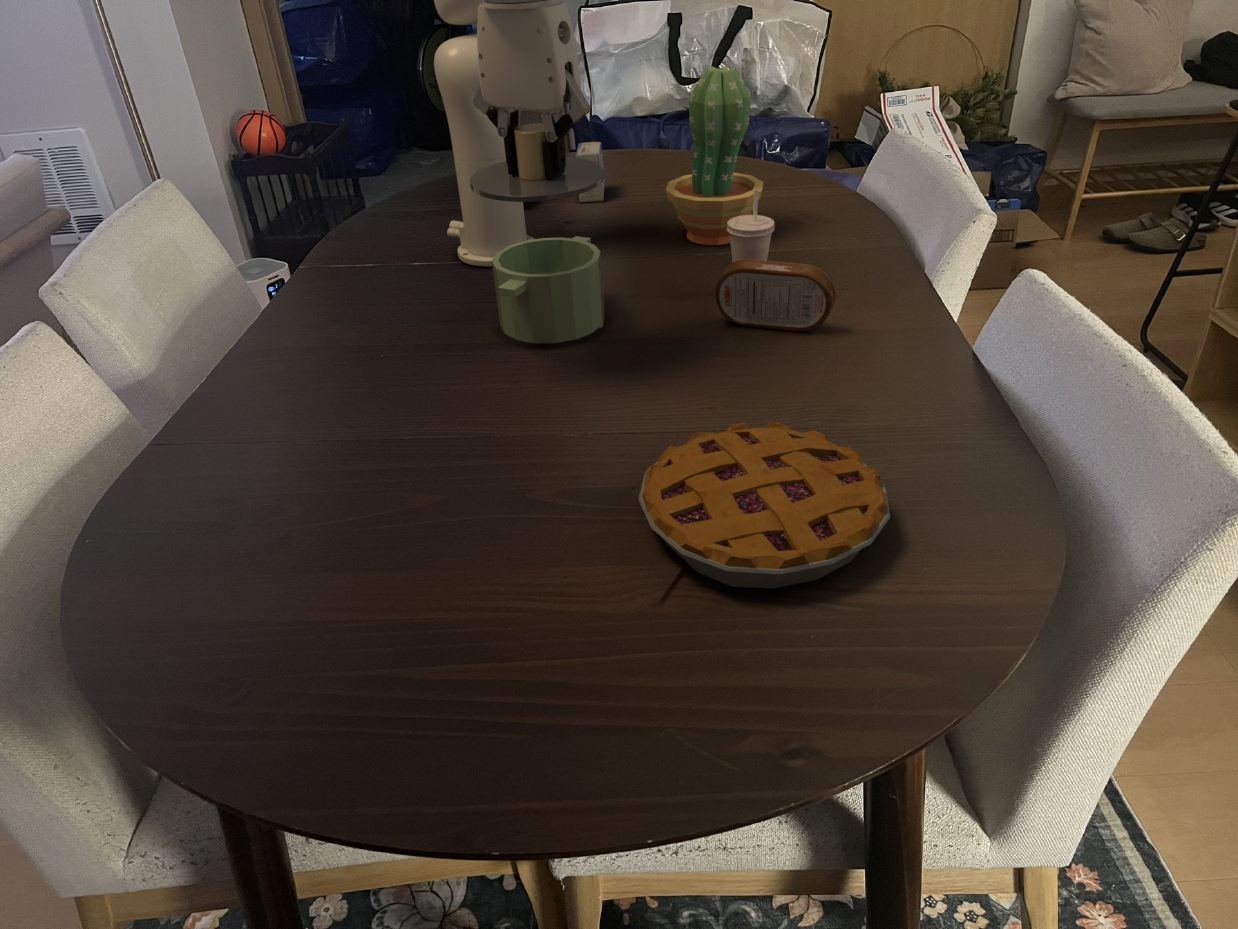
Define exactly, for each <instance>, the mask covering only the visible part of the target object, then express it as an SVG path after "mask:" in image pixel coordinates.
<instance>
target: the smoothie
mask: <svg viewBox="0 0 1238 929" xmlns="http://www.w3.org/2000/svg"><path fill="white" fill-rule="evenodd" d="M758 204H759V200H758V189H755V190H754V202H753V210H752V214H751V215H742V216H737V217H734V218H732V219H730V220H729V221H728V222H727V231H728V232H729V234H730V243H729V244H730V254H731V263H733V262H735V261H738V260H742V259H754V260H764V261H768V258H769V252H770V246H771V245H770V244H771V239H772V238H771V237H772V233H774V231H775V220H774V219H773V218H771V217H768V216H766V215H762V214H761V215H760V214H758Z"/></svg>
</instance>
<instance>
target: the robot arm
mask: <svg viewBox="0 0 1238 929" xmlns="http://www.w3.org/2000/svg"><path fill="white" fill-rule="evenodd" d="M433 2H434V6H435V10H436V11H437V15H438V16H439V17H440V19H442V21H444V22H445V23H447V24H448V25H453V26H454V25H455V26H468V25H469V26H470V25H471V26H472V25H476V33H475V34H468V35H467V34H466V35H460V36H456V37H453V38H449V39H447V40H446V41H444V42H442V43H441V44H440V45H439V46H438V47H437V49H436V51H435V53H434V57H433V58H434V59H433V67H434V73H435V78H436V82H437V86H438V90H439V93H440V96H441V100H442V103H443V107H444V111H445V115H446V119H447V124H448V128H449V129H448V130H449V134H450V141H451V147H452V148H451V149H452V154H453V162H454V168H455V175H456V182H457V188H458V189H457V190H458V195H459V202H460V209H461V216H462V221H461V220H453V219H452V220H451V221H450V222H449V225H448V226H449V227H448V228H447V231H446V234H447V237H449V238H458V239H459V242H460V244H459V246H458V247H457V251H456V252H457V257H458V259H459V261H462V263H465V264H467V265H470V266H473V267H483V268H484V267H485V268H486V267H487V268H488V267H490V268H491V267H492V268H493V266H492V260H493V258H494V256H495V254H496V253H497V252H499V251H501V250H502V249H504V248H506V247H507V246H510V245H513V244H516V243H519V242H522V241H527V240H534V239H535V238H534V237H532V236H530V235H528V234H527V228H526V217H525V209H524V208H525V207H524V202H509V201H500V200H494V199H489V198H485V197H482V196H480V195H478V194H476V193H475V192H473V191H472V189H471V187H470V178H471V176H472V175H473V174H474V173H476V172H477V171H479V170H481V169H483V168H485V167H487V166H490V165H493V164H496V163H500V162H504V161H506V162H507V164H508V173H509V175H516V174H518V173H519V172H518V163H517V153H516V144H515V135H514V129H515V128H516V127H518V126H521V125H522V124H521V123H522V111H529V112H539V114H540V117H541V118H540V119H541V121H542V124H543V126H544V130H545V134H546V138H547V141H545V142H543V144H542V148H543V159H544V170H545V177H546V178H547V179H549V180H553V179H554V178H556V177H558V176H560V175H561V174H563V173H564V172H565V167H566V157H567V156H566V144H565V143H566V142H565V137H566V136H568V135H569V133H570V131H571V129H572V128H573V127H574V126H575V125H576V124H577V122H578V121H580V120H581V119H583V117H585V116H586V115H588V114H589V113H590V112H591V105H590V103H589V101H588V100H587V99H586V97H585V95H584V93H583V91H582V81H581V71H580V63H579V55H578V49H577V43H576V36H575V34H574V33H575V32H574V27H573V23H572V18H571V15H570V11H569V8H568V4H567V1H564V0H433ZM564 105H569V106H570V109H569V110H568V111H566V112H565V109H564Z"/></svg>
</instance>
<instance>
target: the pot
mask: <svg viewBox="0 0 1238 929" xmlns="http://www.w3.org/2000/svg"><path fill="white" fill-rule="evenodd" d="M601 255H602V254H601V250H600V249H599V248H598V247H597V246H596V245H595V244H594V243H592V238H591V237H586V236H577V235H575V236H574V237H572V238H570V237H541V238H534V240H527V241H522V242H519V243H516V244H513V245H510V246H507V247H506V248H504V249H502V250H501V251H499V252H497V253H496V254H495V256H494V258H493V260H492V266H493V267H492V273H493V280H494V288H495V295H496V296H495V297H496V302H497V311H498V318H499V319H498V320H499V326H500V328H501V330H502V332H503V334H504V335H507V336H508V337H510V338H512V339H514V340H516V341H519V342H524V343H529V344H530V343H531V344H559V343H565V342H570V341H576V340H578V339H581V338H583V337H586V336H588V335H591V334H593V333H594V332H596V331H597V330H598V329H600V328H601V329H602V328H603V327H604V324H605V319H604V318H605V303H604V302H605V301H604V286H603V272H602V271H603V270H602V256H601Z"/></svg>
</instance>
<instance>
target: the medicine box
mask: <svg viewBox="0 0 1238 929" xmlns="http://www.w3.org/2000/svg"><path fill="white" fill-rule="evenodd" d="M575 158H581V159H585V160H589V161H592V162H595V163H597V164H599V165H600V166H601V167H602V168H603V169H604V159H603V144H602V142H601V141H591V142H590V141H589V142H580V143H578V144H577V149H576V153H575ZM604 199H605V179H604V180H603V182H602V183H601V184H600V185H598V186H597V187H595V188H593V189H592V190H589V191H587V192H584V193H581V194H578V200H579V202H580V203H596V202H597V203H599V202H603V201H604Z"/></svg>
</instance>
